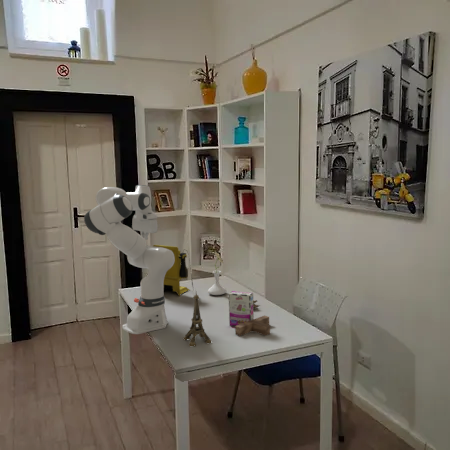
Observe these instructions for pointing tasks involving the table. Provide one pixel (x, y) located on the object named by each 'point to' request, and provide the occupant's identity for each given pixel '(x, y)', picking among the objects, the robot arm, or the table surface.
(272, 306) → the table surface
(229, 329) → the table surface
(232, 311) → the candy bar box
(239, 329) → the walnut T stop
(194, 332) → the eiffel tower
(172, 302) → the table surface
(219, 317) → the table surface
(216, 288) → the flower in vase
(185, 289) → the vintage telephone
